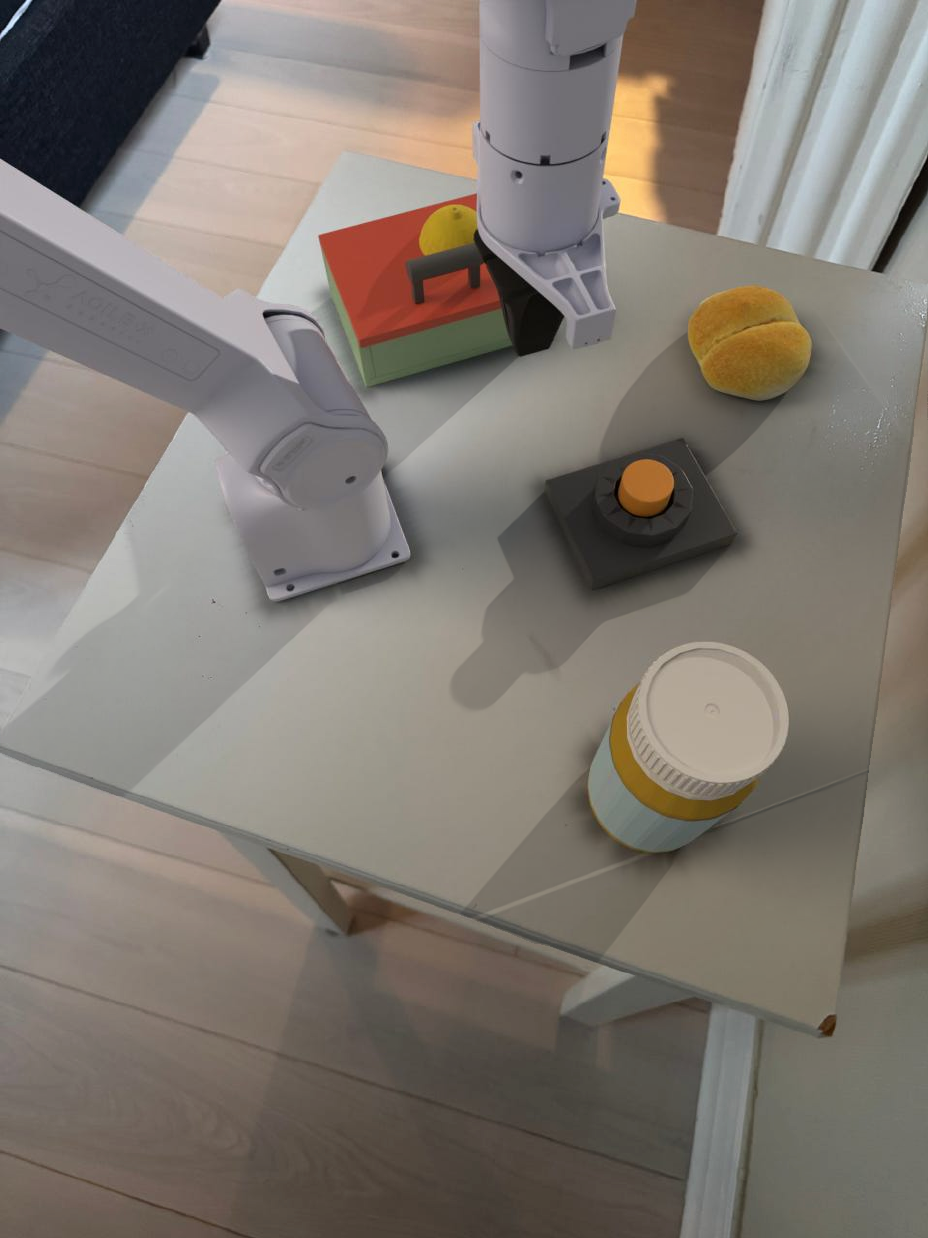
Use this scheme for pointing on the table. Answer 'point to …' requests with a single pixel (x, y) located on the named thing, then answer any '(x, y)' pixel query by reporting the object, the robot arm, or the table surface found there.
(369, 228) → the lid
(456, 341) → the box
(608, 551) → the push button box
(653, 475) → the button
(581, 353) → the table surface
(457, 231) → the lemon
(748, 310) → the bread roll
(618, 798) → the bottle
